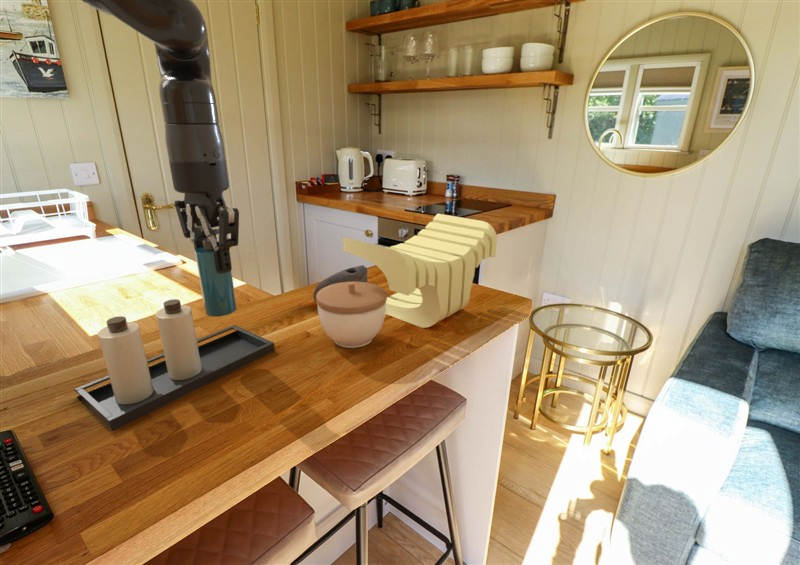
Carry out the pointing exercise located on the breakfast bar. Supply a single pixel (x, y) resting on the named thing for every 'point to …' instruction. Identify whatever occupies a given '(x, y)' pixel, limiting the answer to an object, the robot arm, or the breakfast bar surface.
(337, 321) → the lidded bowl
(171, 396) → the tray
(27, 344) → the breakfast bar surface
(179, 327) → the cream bottle
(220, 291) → the teal bottle
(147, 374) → the cream bottle
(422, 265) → the slatted curved stool
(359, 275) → the perforated stone tool
